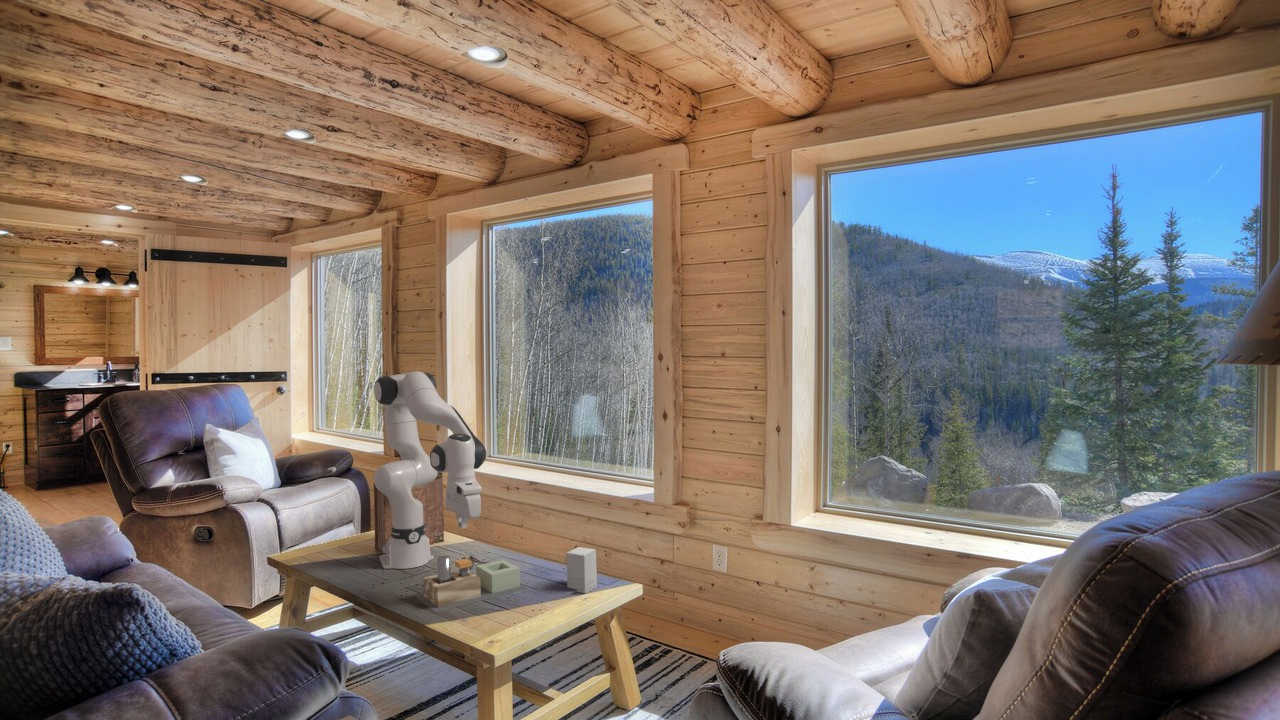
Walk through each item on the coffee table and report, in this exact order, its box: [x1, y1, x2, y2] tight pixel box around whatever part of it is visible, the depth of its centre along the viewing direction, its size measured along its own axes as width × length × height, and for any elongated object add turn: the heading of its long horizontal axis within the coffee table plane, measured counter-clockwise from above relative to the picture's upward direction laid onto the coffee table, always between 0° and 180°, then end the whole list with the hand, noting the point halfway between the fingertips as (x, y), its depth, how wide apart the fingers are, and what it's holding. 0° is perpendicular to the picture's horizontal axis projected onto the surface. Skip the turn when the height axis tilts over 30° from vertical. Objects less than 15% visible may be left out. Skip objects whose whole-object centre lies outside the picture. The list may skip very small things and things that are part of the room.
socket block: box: [423, 569, 481, 607], centre depth 217 cm, size 12×14×6 cm
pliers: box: [462, 555, 489, 571], centre depth 251 cm, size 10×1×20 cm
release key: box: [454, 557, 472, 577], centre depth 219 cm, size 4×4×6 cm
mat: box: [414, 583, 529, 613], centre depth 221 cm, size 19×31×1 cm, turn 128°
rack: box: [475, 559, 521, 593], centre depth 226 cm, size 12×10×6 cm
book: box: [373, 472, 445, 554], centre depth 276 cm, size 25×9×30 cm, turn 135°
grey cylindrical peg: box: [436, 555, 452, 584], centre depth 215 cm, size 4×4×12 cm
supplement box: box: [565, 546, 598, 594], centre depth 224 cm, size 7×7×13 cm
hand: (462, 527), depth 219 cm, fingers closed
